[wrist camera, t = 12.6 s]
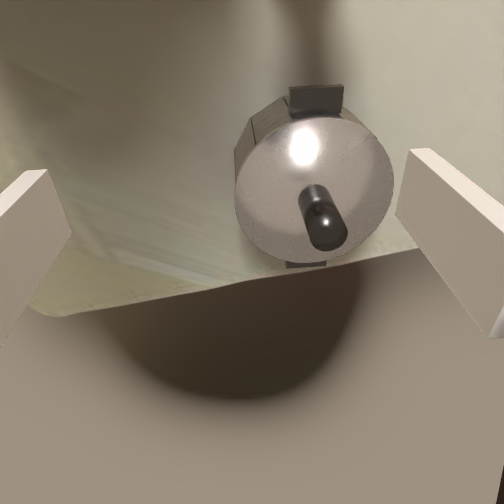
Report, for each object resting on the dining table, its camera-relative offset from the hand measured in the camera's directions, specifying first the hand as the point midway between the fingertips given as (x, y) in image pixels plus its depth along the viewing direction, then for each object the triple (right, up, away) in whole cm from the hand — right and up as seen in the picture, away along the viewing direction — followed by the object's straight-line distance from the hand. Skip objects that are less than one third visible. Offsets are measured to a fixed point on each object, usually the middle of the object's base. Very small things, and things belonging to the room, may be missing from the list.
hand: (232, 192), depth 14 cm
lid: (+7, +5, +27) cm, 28 cm away
